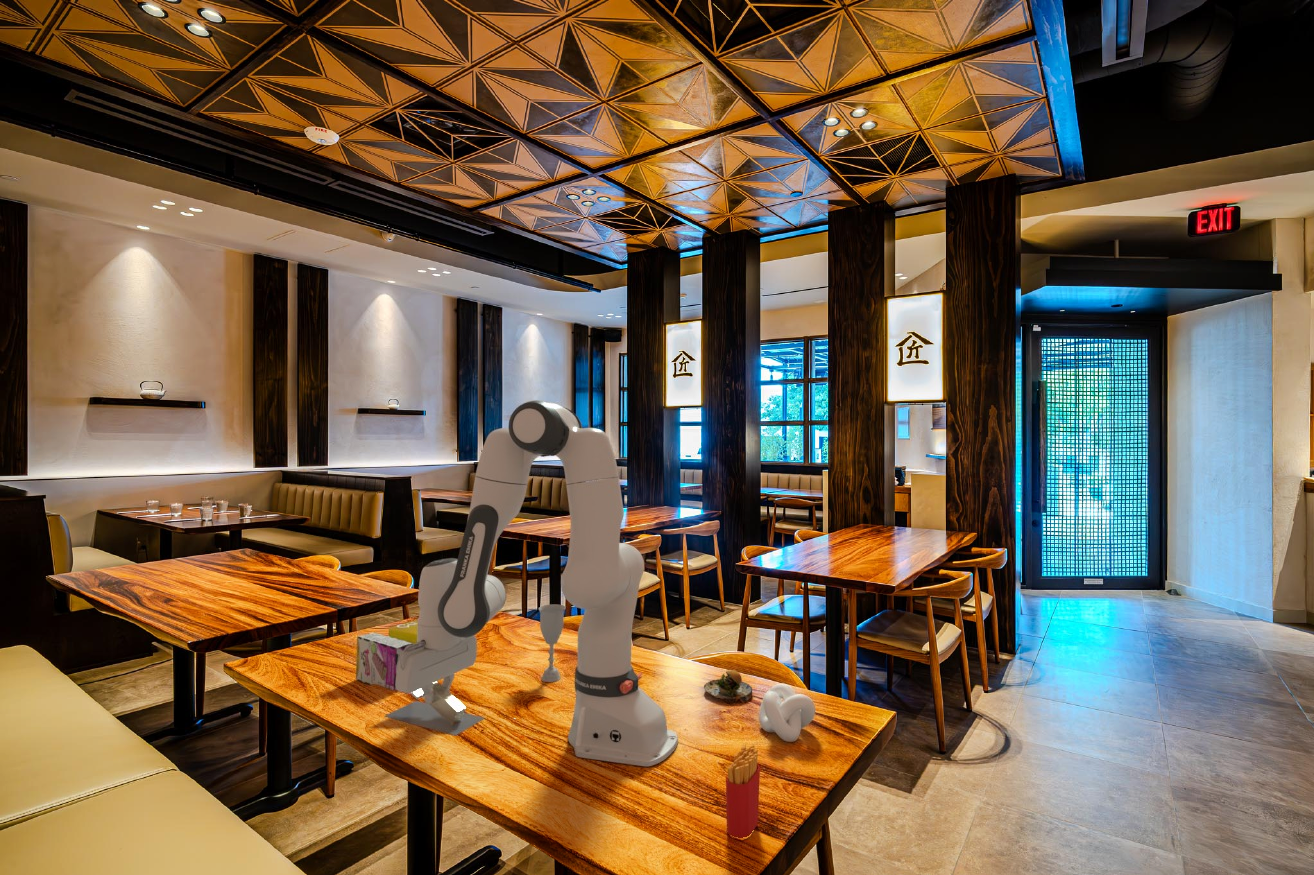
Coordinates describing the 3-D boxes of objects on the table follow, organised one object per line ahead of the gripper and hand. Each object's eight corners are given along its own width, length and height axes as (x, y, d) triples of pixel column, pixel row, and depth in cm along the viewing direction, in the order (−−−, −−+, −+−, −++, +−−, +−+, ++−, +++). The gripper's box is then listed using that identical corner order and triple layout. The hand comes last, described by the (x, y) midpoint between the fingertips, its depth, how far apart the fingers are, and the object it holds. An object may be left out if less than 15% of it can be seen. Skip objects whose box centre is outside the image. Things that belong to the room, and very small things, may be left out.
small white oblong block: (465, 718, 133) (470, 705, 132) (447, 728, 129) (453, 714, 128) (414, 672, 140) (419, 659, 140) (396, 680, 136) (401, 666, 135)
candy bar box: (394, 695, 147) (354, 680, 156) (412, 688, 151) (373, 675, 160) (395, 647, 148) (355, 636, 157) (413, 642, 152) (374, 631, 161)
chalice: (558, 684, 155) (559, 612, 155) (532, 682, 156) (534, 610, 157) (568, 674, 162) (569, 605, 162) (543, 672, 164) (545, 603, 164)
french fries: (740, 811, 102) (740, 738, 102) (763, 819, 100) (763, 744, 100) (719, 840, 95) (720, 761, 95) (744, 848, 93) (745, 767, 93)
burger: (707, 683, 158) (707, 654, 158) (753, 688, 155) (754, 658, 156) (700, 702, 146) (701, 671, 146) (751, 707, 144) (751, 675, 144)
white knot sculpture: (803, 753, 122) (804, 707, 122) (746, 738, 128) (746, 695, 128) (818, 730, 132) (819, 688, 132) (764, 718, 138) (765, 677, 138)
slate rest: (485, 722, 134) (485, 718, 134) (455, 740, 125) (455, 735, 125) (416, 705, 142) (416, 700, 142) (383, 720, 134) (384, 716, 134)
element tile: (421, 651, 180) (422, 634, 180) (385, 643, 186) (385, 627, 186) (459, 637, 193) (459, 621, 193) (424, 630, 200) (424, 615, 200)
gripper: (412, 651, 123) (410, 721, 123) (482, 624, 141) (480, 685, 141) (389, 646, 126) (387, 714, 125) (461, 620, 144) (459, 680, 144)
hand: (437, 699), depth 133 cm, fingers closed on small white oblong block, 2 cm apart
